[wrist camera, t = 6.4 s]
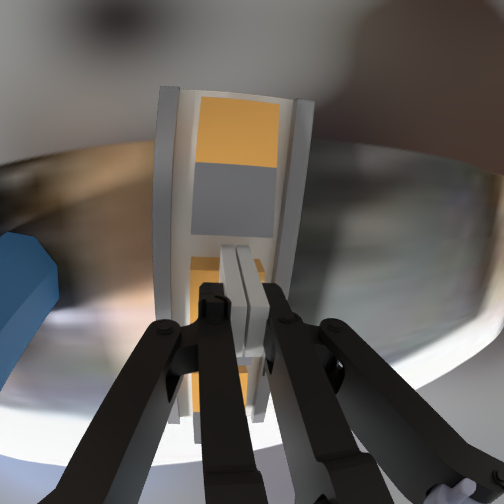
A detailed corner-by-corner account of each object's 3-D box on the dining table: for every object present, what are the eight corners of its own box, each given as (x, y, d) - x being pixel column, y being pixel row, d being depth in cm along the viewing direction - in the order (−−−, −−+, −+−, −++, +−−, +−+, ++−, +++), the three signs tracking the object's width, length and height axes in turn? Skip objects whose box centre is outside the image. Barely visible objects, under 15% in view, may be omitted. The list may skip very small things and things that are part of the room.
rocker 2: (191, 348, 23) (190, 365, 21) (191, 256, 20) (190, 269, 18) (248, 348, 24) (251, 365, 22) (259, 258, 21) (265, 272, 19)
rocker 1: (191, 232, 18) (190, 234, 16) (200, 108, 18) (201, 96, 16) (265, 235, 19) (273, 238, 17) (271, 114, 18) (279, 104, 16)
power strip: (169, 390, 31) (168, 423, 27) (168, 96, 21) (160, 86, 16) (255, 390, 33) (263, 422, 28) (293, 107, 22) (314, 101, 18)
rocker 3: (194, 430, 25) (194, 443, 23) (191, 362, 25) (191, 373, 23) (240, 430, 26) (243, 442, 24) (244, 362, 25) (247, 373, 23)
